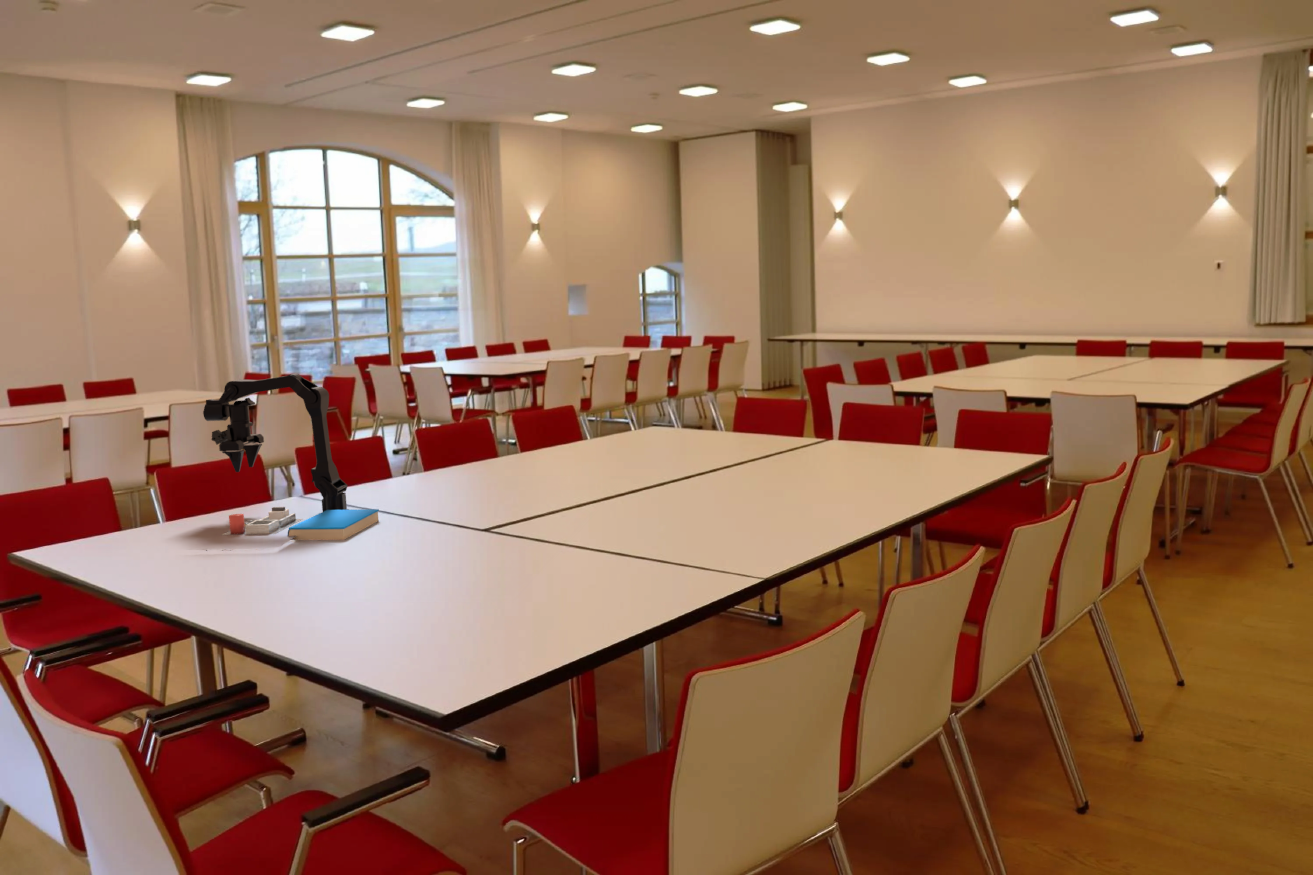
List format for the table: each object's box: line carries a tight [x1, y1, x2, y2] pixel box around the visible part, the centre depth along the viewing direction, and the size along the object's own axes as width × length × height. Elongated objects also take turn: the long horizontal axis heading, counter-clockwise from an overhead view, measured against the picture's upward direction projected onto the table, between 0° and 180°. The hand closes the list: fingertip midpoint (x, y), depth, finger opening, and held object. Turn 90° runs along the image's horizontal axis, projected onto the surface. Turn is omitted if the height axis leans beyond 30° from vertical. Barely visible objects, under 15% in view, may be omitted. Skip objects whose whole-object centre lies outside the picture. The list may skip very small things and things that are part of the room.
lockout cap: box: [228, 513, 245, 534], centre depth 311 cm, size 4×4×5 cm
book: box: [287, 508, 379, 541], centre depth 315 cm, size 17×4×25 cm
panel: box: [221, 512, 303, 536], centre depth 317 cm, size 16×20×4 cm
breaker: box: [268, 506, 290, 520], centre depth 322 cm, size 4×4×4 cm
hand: (244, 469), depth 340 cm, fingers open, 9 cm apart
